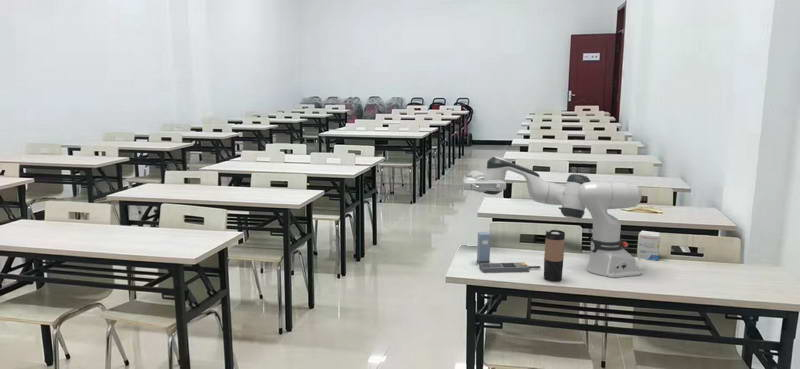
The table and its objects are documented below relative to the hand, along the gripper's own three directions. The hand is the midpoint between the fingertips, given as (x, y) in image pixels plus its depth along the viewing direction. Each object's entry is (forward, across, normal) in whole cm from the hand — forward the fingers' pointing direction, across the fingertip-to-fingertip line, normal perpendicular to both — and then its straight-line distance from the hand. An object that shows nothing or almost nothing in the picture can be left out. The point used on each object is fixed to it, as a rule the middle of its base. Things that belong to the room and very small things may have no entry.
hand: (487, 188), depth 269 cm
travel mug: (+34, -20, -32) cm, 51 cm away
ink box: (+7, -76, -32) cm, 83 cm away
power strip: (+21, -6, -32) cm, 39 cm away
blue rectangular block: (+12, +4, -32) cm, 34 cm away
